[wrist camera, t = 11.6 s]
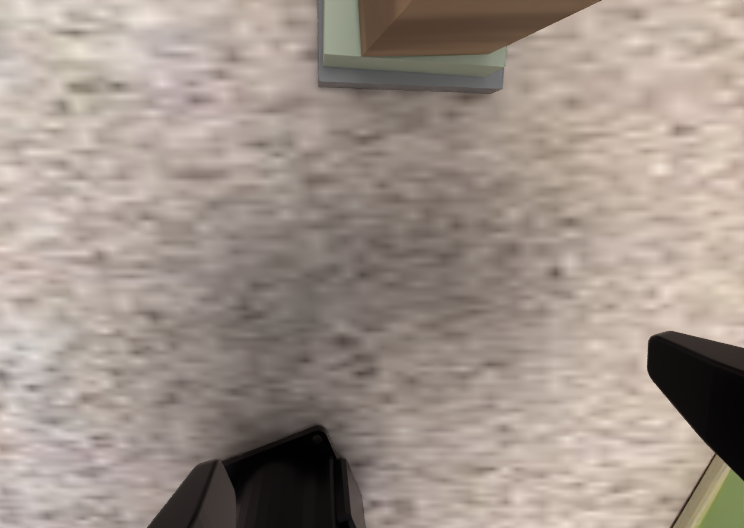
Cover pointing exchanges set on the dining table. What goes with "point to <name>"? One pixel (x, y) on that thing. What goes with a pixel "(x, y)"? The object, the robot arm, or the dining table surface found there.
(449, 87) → the gray base slab
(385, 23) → the walnut pillar
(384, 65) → the sage top slab
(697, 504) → the toy refrigerator
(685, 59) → the dining table surface
